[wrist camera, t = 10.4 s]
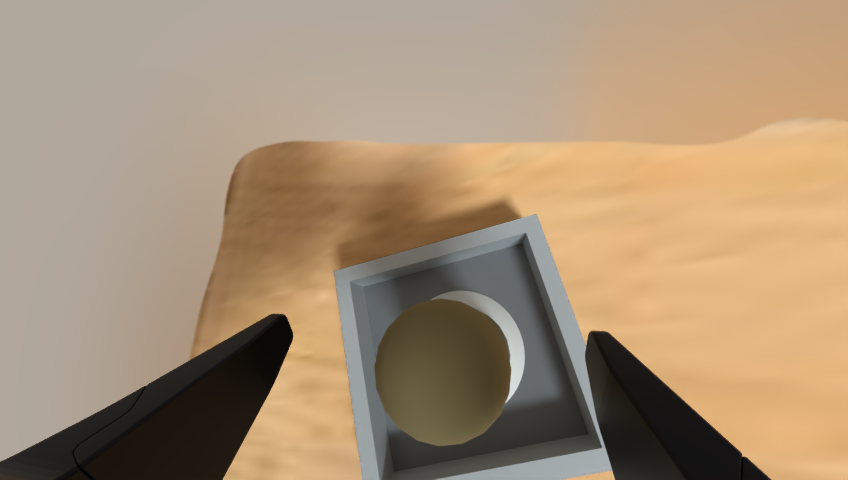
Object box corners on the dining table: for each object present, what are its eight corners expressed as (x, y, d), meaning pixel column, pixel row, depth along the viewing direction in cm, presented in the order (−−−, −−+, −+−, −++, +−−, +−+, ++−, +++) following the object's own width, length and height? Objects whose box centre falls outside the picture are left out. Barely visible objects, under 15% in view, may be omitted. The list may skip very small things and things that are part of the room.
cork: (525, 388, 20) (560, 445, 10) (434, 416, 20) (373, 499, 10) (490, 295, 22) (487, 259, 11) (407, 323, 22) (334, 313, 12)
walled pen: (610, 447, 19) (631, 466, 16) (384, 489, 20) (367, 514, 18) (531, 228, 23) (536, 213, 20) (351, 278, 25) (334, 271, 22)
